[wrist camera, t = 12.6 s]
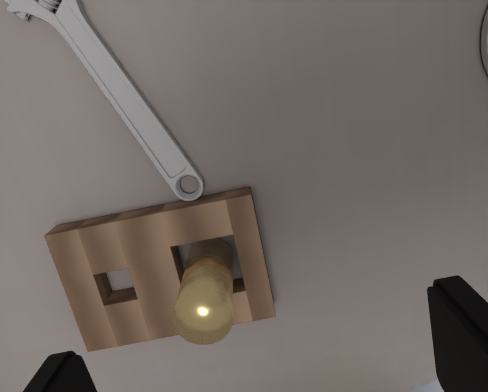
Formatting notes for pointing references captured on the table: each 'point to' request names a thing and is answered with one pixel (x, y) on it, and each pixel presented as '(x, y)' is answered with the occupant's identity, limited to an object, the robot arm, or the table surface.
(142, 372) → the table surface
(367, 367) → the table surface
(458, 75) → the table surface
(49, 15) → the adjustable wrench
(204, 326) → the brass peg
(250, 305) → the socket board
